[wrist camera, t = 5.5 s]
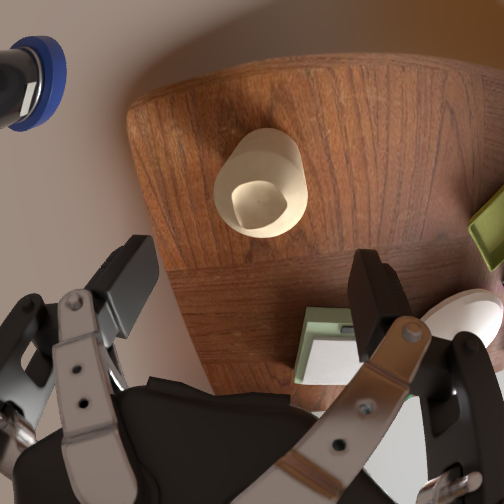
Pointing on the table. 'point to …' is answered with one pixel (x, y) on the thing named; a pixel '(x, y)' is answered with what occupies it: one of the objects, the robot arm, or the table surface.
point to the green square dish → (490, 230)
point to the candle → (262, 185)
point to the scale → (327, 348)
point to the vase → (466, 315)
